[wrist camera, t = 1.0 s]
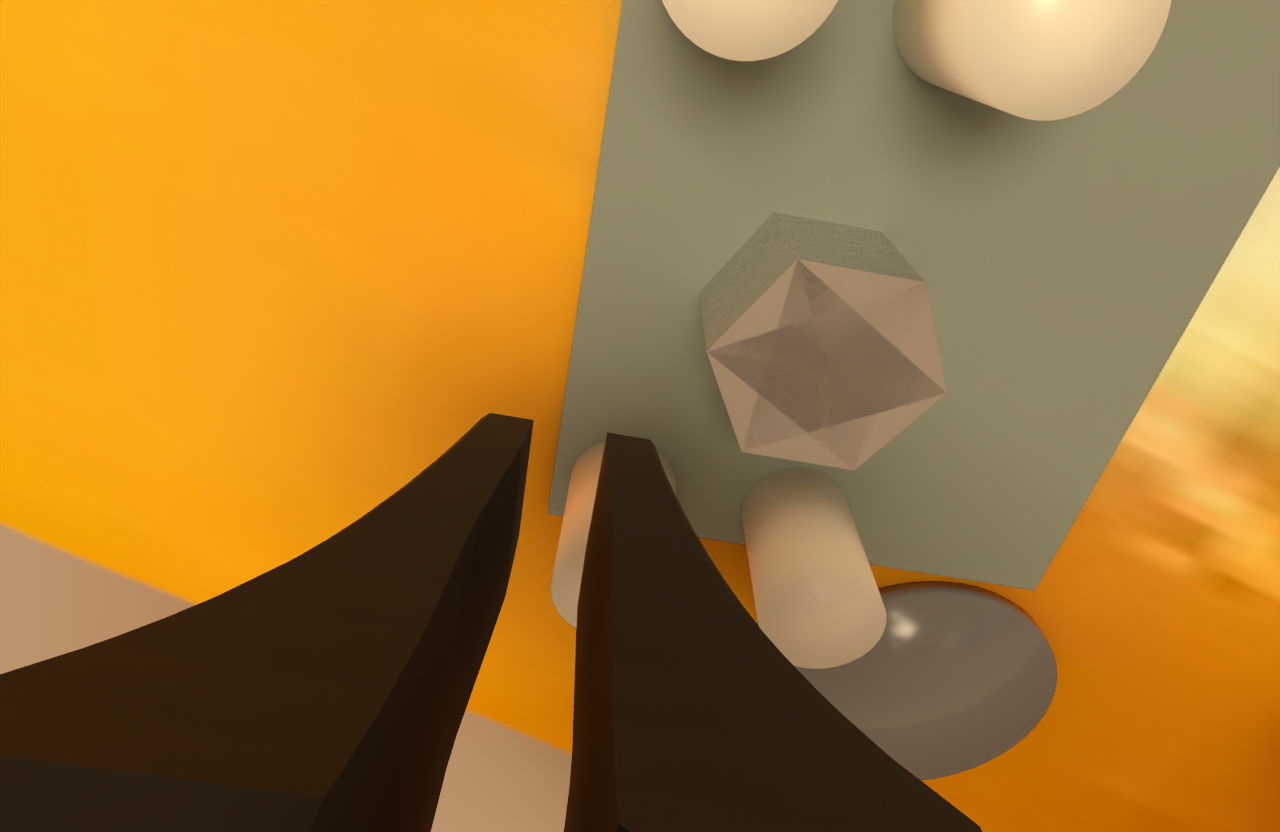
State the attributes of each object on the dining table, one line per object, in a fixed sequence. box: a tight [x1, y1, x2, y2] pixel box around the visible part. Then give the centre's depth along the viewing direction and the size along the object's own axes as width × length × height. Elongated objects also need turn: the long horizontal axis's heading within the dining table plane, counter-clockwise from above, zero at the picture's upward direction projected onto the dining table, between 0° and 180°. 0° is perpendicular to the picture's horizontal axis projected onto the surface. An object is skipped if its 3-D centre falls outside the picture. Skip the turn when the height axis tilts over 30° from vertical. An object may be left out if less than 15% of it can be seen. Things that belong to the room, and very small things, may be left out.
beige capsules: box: [551, 0, 1171, 669], centre depth 17 cm, size 8×16×4 cm, turn 170°
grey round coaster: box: [795, 582, 1057, 781], centre depth 26 cm, size 9×9×1 cm
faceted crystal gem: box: [699, 212, 947, 470], centre depth 17 cm, size 5×4×4 cm
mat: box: [548, 0, 1280, 590], centre depth 19 cm, size 15×16×1 cm
